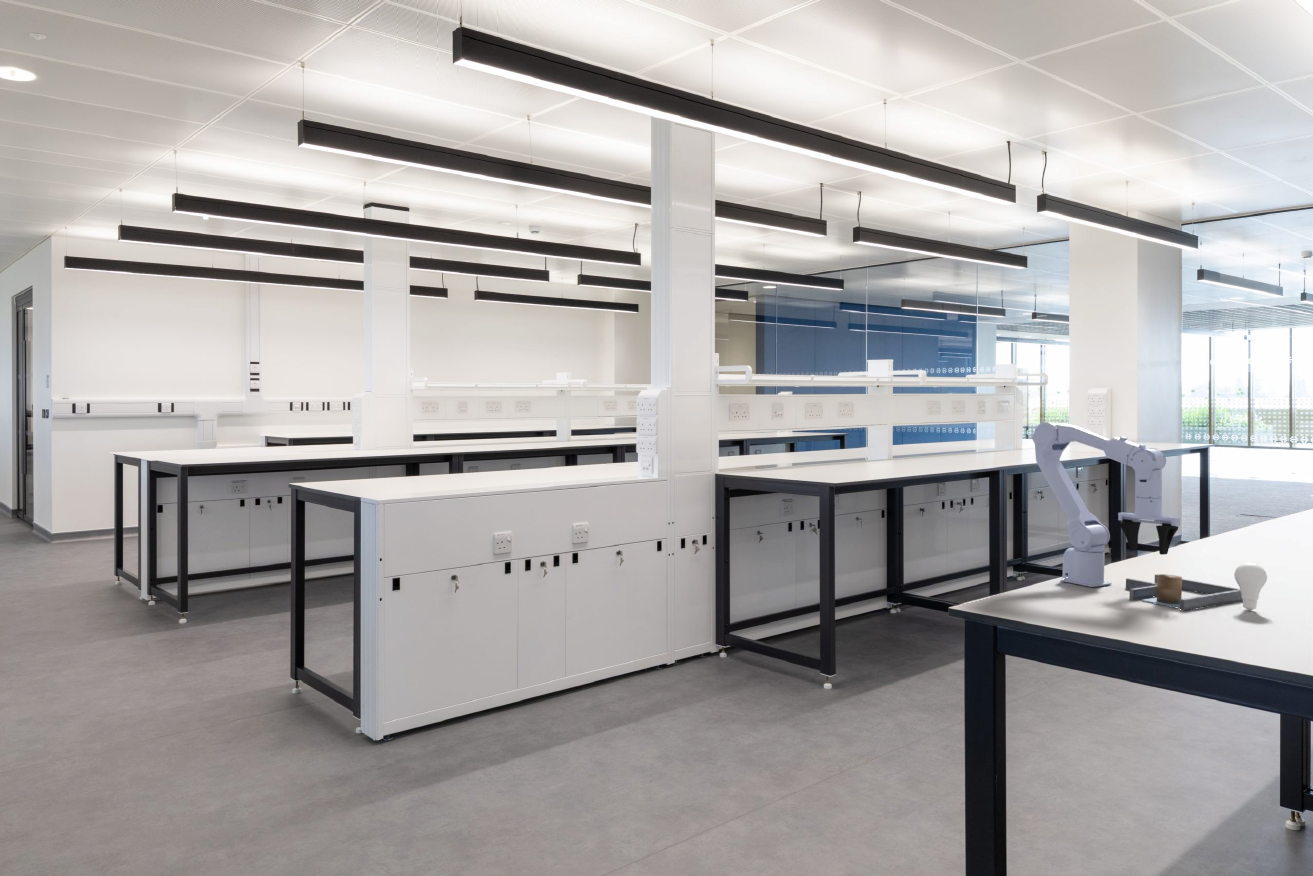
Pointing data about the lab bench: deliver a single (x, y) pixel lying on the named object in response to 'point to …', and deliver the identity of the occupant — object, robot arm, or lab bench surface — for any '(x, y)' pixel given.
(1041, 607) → the lab bench surface
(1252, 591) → the lightbulb
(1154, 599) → the pad
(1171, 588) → the walnut cylinder
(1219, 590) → the guide walls
